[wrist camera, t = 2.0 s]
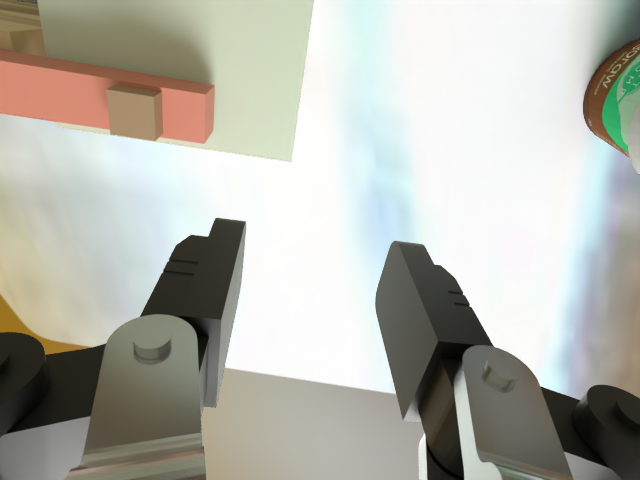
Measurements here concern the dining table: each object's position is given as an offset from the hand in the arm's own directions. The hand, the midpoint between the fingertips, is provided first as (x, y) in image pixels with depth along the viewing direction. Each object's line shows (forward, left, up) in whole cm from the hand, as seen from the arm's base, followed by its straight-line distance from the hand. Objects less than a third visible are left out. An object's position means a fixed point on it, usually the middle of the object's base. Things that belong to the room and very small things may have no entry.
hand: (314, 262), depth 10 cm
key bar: (0, -11, -14) cm, 18 cm away
